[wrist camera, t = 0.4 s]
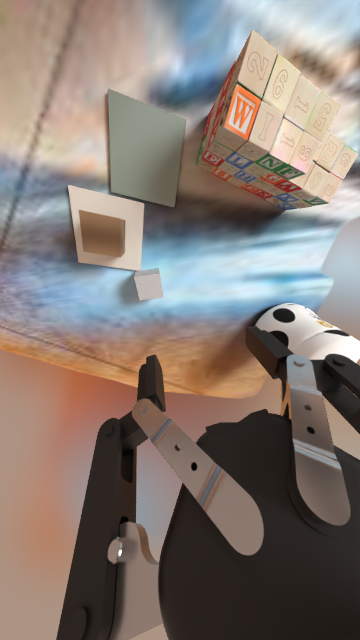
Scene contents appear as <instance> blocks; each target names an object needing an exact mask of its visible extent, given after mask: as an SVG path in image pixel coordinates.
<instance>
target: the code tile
mask: <svg viewBox="0 0 360 640" xmlns="http://www.w3.org/2000/svg"><path fill="white" fill-rule="evenodd" d="M68 189H69V197H70V204H71V211H72V218H73V226H74V233H75V240H76V247H77V255H78V262H80V263H87V264H94V265H101V266H109V267H116V268H123V269H130V270H137V271H141V256H142V238H143V219H144V203H141V202H136V201H132V200H128V199H124V198H120V197H116V196H112V195H108V194H104V193H100V192H95V191H91V190H87V189H83V188H79V187H75V186H71V185H68ZM79 210H83V211H87V212H92V213H97V214H101V215H106V216H111V217H116V218H120V219H123V220H125V253H124V254H123V255H122V256H121V257H114V256H108V255H101V254H95V253H88V252H83V244H82V235H81V227H80V218H79Z"/></svg>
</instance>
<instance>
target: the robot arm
mask: <svg viewBox="0 0 360 640" xmlns="http://www.w3.org/2000/svg"><path fill="white" fill-rule="evenodd" d="M246 345H247V347H248V349H249V350H250V351H251V352H252V353H253V355H254V356H255V357H256V358H257V360H258V361H259V362H260V363H261V365H262V366H263V367H264V368H265V369H266V371H267V372H268V373H269V374H270V375H271V377H272V378H273V379H277V378H280V380H281V412H280V415H277V414H272V413H268V411H267V410H266V409H263V410H260V411H257V412H253V413H251V414H249V415H248V416H247V417H245V418H244V419H242V420H241V421H239V422H236V423H217V424H214V425H211V426H208V427H206V431H207V432H205V433H204V434H203V435H202V436H201V437H200V438H199V439H198V441H197V442H196V443H195V442H194V441H193V440H192V439H191V438H190V437H189V436H188V435H187V434H186V433H185V432H184V431H183V430H182V429H181V428H180V427H179V426H177V424H176V423H175V422H173V421H172V420H171V419H168V418H167V417H166V416H165V415H164V414H163V413H162V412H165V411H166V407H165V396H164V385H163V374H162V368H161V365H160V363H159V361H158V359H157V356H156V355H151V356H148V357H147V358H146V364H143V365H142V366H141V368H140V370H139V380H138V381H139V382H138V395H137V402H136V404H135V405H134V407H133V409H132V411H131V412H130V413H128V414H127V415H125V416H124V417H122V418H121V419H119V420H118V419H116V418H111V419H109V420H107V421H106V422H105V423H104V424H103V425H102V426H101V427H100V429H99V432H98V435H97V440H96V445H95V450H94V455H93V460H92V465H91V470H90V475H89V480H88V485H87V490H86V495H85V500H84V505H83V510H82V515H81V520H80V524H79V529H78V534H77V540H76V544H75V549H74V555H73V560H72V564H71V569H70V574H69V580H68V584H67V589H66V594H65V599H64V604H63V609H62V614H61V619H60V624H59V629H58V634H57V639H56V640H129V639H131V638H133V637H135V636H137V635H139V634H141V633H143V632H145V631H147V630H149V629H152V628H154V627H156V626H158V625H160V624H162V623H163V624H164V627H165V630H166V633H167V636H168V639H169V640H360V460H358V459H357V458H355V457H353V456H352V455H350V454H348V453H346V452H344V451H343V450H341V449H340V448H338V447H336V446H334V445H333V441H332V437H331V432H330V427H329V423H328V418H327V413H326V409H325V404H324V399H323V396H324V397H325V398H326V399H327V400H328V401H329V402H330V403H331V404H332V405H333V407H335V409H337V411H338V412H339V413H340V414H341V415H342V416H343V417H344V418H345V419H346V420H347V421H348V422H349V423H350V424H351V425H352V426H353V427H354V429H355V430H356V431H357V432H358V433H359V434H360V366H359V365H358V364H356V363H355V362H354V361H352V360H351V359H349V358H348V357H346V356H343V355H340V354H328V355H326V356H325V359H323V360H309V359H308V358H306V357H304V356H302V355H297V354H294V353H293V352H292V351H290V350H289V349H288V348H287V347H286V346H285V345H284V344H283V343H281V342H280V341H279V340H278V339H277V338H275V336H273V335H272V334H271V333H270V332H268V331H265V330H260V329H259V328H258V327H257V326H253V327H250V328H247V329H246ZM345 386H346V387H347V388H348V389H349V390H348V389H347V388H346V387H345ZM353 393H354V394H355V395H356V396H357V397H356V396H355V395H354V394H353ZM148 438H150V440H151V441H152V443H153V444H154V446H156V448H157V449H158V451H159V452H160V453H161V455H162V456H163V457H164V459H165V460H166V461H167V463H168V464H169V465H170V466H171V468H172V469H173V470H174V472H175V473H176V474H177V475H178V477H179V478H180V479H181V480H182V482H183V483H182V486H181V489H180V492H179V496H178V499H177V502H176V505H175V508H174V512H173V515H172V518H171V521H170V524H169V528H168V531H167V534H166V537H165V540H164V544H163V547H162V551H161V556H160V561H159V562H157V561H156V560H155V559H154V558H153V556H152V555H151V552H150V549H149V543H148V536H147V533H146V530H145V528H144V527H143V526H142V525H140V524H137V523H136V459H137V457H136V456H137V446H138V445H140V444H141V443H143V442H144V441H145V440H147V439H148Z"/></svg>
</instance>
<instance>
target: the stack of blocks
mask: <svg viewBox="0 0 360 640" xmlns="http://www.w3.org/2000/svg"><path fill="white" fill-rule="evenodd" d="M339 106H340V105H339V104H338V103H337V102H336V101H335V100H333V99H332V98H331V97H330V96H329V95H327V94H326V93H325V92H324V91H321V90H320V89H319V88H318V87H317V86H315V85H314V84H313V83H312V82H310V81H309V80H308V79H307V78H306V77H304V76H303V75H301V74H300V71H299V70H298V69H296V68H295V67H294V66H293V65H292V64H291V63H289V62H288V61H287V60H286V59H285V58H283V57H282V56H281V55H280V54H277V51H276V49H275V48H274V47H272V46H271V45H270V44H269V43H268V42H267V41H266V40H264V39H263V38H262V37H261V36H260V35H259V34H258V33H257V32H256V31H253V30H252V32H251V33H250V35H249V37H248V39H247V41H246V43H245V45H244V47H243V49H242V51H241V53H240V55H239V57H238V59H237V61H235V62H234V64H233V66H232V68H231V70H230V72H229V74H228V76H227V78H226V80H225V82H224V85H223V87H222V89H221V91H220V93H219V95H218V97H217V100H216V101H215V103H214V105H213V107H212V109H211V111H210V113H209V115H208V119H207V123H206V127H205V131H204V135H203V139H202V144H201V148H200V152H199V156H198V160H197V163H196V165H197V166H199V167H201V168H203V169H205V170H207V171H209V172H211V173H212V174H213V175H215V176H217V177H219V178H221V179H223V180H226V181H227V182H229V183H231V184H233V185H235V186H237V187H241V188H243V189H245V190H247V191H249V192H251V193H254V194H256V195H258V196H260V197H262V198H264V199H265V200H266V201H268V202H270V203H272V204H274V205H277V206H279V207H281V208H283V209H285V210H290V209H297V208H306V207H312V206H314V205H321V204H328V203H329V202H330V201H331V199H332V198H333V196H334V194H335V193H336V191H337V189H338V188H339V186H340V185H341V183H342V181H343V179H344V177H345V176H346V174H347V172H348V171H349V169H350V167H351V166H352V164H353V162H354V161H355V159H356V157H357V156H358V153H357V152H356V151H354V150H353V149H351V148H350V147H349V146H347V145H345V143H344V142H343V141H342V140H340V139H339V138H338V137H336V136H335V135H334V134H332V133H331V132H330V131H329V130H328V128H329V126H330V124H331V122H332V120H333V118H334V116H335V114H336V112H337V110H338V108H339Z"/></svg>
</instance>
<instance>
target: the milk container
mask: <svg viewBox="0 0 360 640" xmlns="http://www.w3.org/2000/svg"><path fill="white" fill-rule="evenodd" d="M255 326H257V327H258V328H259V329H260V330H265V331H268V332H270V333H271V334H272V335H273V336H275V338H277V339H278V340H279V341H280V342H281V343H283V344H284V345H285V346H286V347H287V348H288V349H289V350H290V351H292V352H293V353H294V354H297V355H302V356H304V357H306V358H308V359H309V360H323V359H325V356H326V355H328V354H340V355H343V356H346V357H348V358H349V359H351V360H352V361H354V362H355V363H356V362H357V361H358V360H359V358H360V341H358V340H357V339H355V338H353V337H352V336H350V335H348V334H347V333H345V332H343V331H341V330H340V329H338V328H336V327H334V326H332V325H330V324H328V323H326V322H324V321H323V320H321V319H320V318H319V317H318V316H317V315H316V314H315V313H314V312H312V311H311V310H310V309H308V308H306V307H304V306H301V305H298V304H294V303H284V304H280V305H277V306H274V307H272V308H271V309H269V310H268V311H266V312H265V313H264V314H263V315H262V316H261V317H260V318H259V319H258V321H257V322H256V324H255Z"/></svg>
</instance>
